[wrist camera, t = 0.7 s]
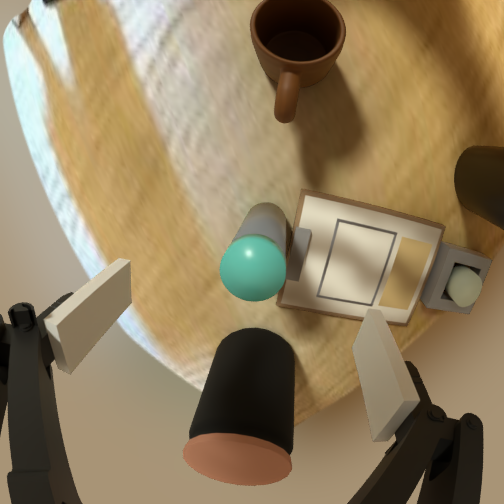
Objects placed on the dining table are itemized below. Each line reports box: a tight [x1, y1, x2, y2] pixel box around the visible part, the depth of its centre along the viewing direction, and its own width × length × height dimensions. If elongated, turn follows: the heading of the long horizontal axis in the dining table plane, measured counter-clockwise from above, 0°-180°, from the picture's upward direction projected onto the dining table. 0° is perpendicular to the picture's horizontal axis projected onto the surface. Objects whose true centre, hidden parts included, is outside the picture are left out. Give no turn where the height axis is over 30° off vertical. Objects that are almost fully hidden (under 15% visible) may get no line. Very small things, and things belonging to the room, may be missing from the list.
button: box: [445, 264, 482, 307], centre depth 29 cm, size 4×4×3 cm
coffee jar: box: [183, 328, 295, 486], centre depth 30 cm, size 11×11×18 cm
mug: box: [250, 0, 346, 123], centre depth 22 cm, size 12×8×9 cm, turn 171°
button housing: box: [420, 241, 492, 314], centre depth 30 cm, size 8×8×2 cm
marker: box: [220, 203, 286, 301], centre depth 25 cm, size 4×4×14 cm
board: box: [276, 189, 446, 326], centre depth 32 cm, size 14×18×2 cm
